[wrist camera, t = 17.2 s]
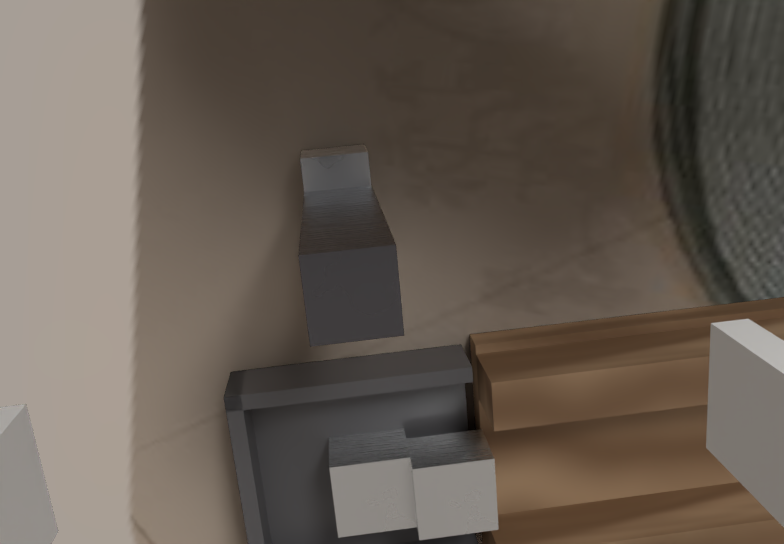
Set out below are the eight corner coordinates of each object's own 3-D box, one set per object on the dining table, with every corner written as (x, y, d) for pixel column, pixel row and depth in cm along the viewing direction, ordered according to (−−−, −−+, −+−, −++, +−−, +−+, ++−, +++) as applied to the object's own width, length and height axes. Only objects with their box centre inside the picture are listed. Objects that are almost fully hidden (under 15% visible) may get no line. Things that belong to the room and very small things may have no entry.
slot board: (469, 334, 39) (491, 372, 35) (798, 295, 41) (862, 327, 36) (483, 546, 43) (503, 607, 38) (783, 504, 44) (840, 558, 39)
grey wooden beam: (301, 150, 36) (292, 207, 22) (363, 144, 36) (391, 196, 23) (316, 270, 38) (315, 389, 24) (375, 263, 38) (407, 378, 24)
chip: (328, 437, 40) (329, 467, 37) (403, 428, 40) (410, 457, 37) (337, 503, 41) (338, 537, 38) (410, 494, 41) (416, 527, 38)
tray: (230, 372, 39) (223, 397, 36) (460, 344, 39) (472, 367, 37) (262, 568, 42) (258, 606, 39) (473, 539, 43) (485, 574, 40)
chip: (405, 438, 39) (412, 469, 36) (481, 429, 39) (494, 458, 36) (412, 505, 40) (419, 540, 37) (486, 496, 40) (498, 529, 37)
